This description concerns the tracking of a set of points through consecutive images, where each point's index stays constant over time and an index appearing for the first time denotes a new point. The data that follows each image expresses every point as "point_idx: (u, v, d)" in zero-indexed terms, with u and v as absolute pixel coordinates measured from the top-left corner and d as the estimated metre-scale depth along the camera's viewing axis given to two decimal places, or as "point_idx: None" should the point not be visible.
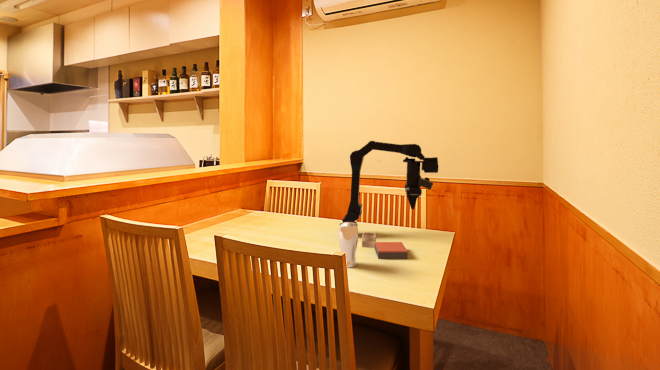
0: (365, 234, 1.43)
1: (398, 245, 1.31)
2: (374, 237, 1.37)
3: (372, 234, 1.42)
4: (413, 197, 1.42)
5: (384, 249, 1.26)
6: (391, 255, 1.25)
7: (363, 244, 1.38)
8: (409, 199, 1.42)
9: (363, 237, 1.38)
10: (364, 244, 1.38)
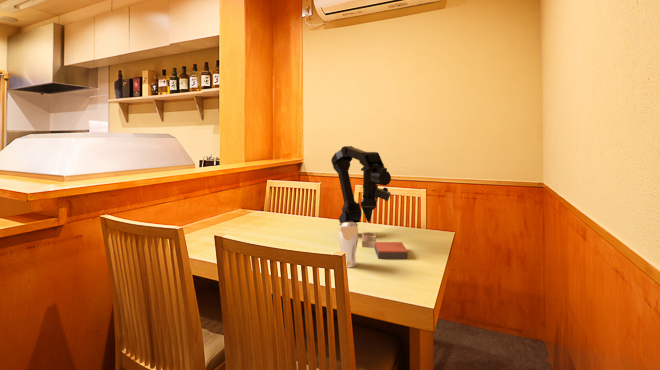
0: (365, 234, 1.43)
1: (398, 245, 1.31)
2: (374, 237, 1.37)
3: (372, 234, 1.42)
4: (368, 209, 1.33)
5: (384, 249, 1.26)
6: (391, 255, 1.25)
7: (363, 244, 1.38)
8: (364, 211, 1.33)
9: (363, 237, 1.38)
10: (364, 244, 1.38)
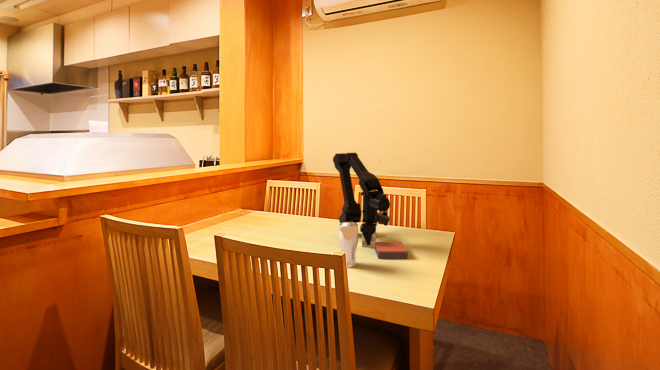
0: None
1: (398, 245, 1.31)
2: (374, 237, 1.37)
3: (372, 234, 1.42)
4: (368, 233, 1.36)
5: (384, 249, 1.26)
6: (391, 255, 1.25)
7: (363, 244, 1.38)
8: (364, 235, 1.36)
9: (363, 237, 1.38)
10: (364, 244, 1.38)
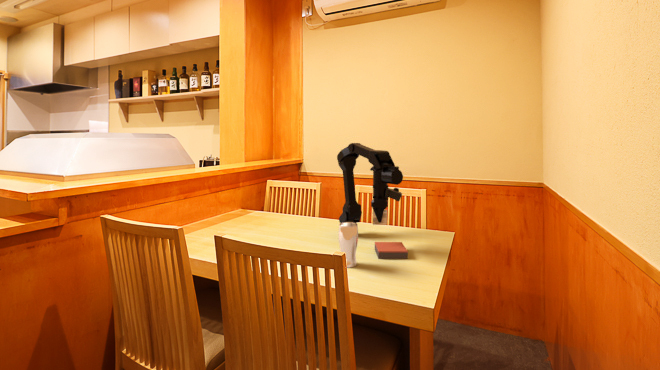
0: None
1: (398, 245, 1.31)
2: (386, 213, 1.30)
3: (383, 211, 1.35)
4: (379, 209, 1.29)
5: (384, 249, 1.26)
6: (391, 255, 1.25)
7: (374, 221, 1.31)
8: (375, 211, 1.29)
9: (374, 213, 1.31)
10: (375, 221, 1.31)
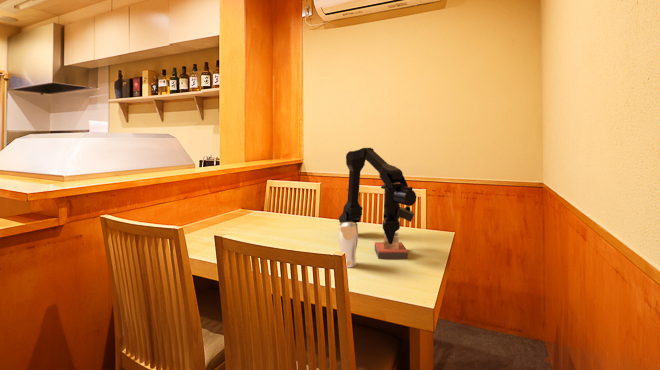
0: None
1: None
2: (397, 237, 1.26)
3: (394, 234, 1.31)
4: (391, 231, 1.23)
5: (384, 250, 1.26)
6: (391, 255, 1.25)
7: (385, 245, 1.28)
8: (386, 233, 1.23)
9: (385, 237, 1.27)
10: (386, 245, 1.27)
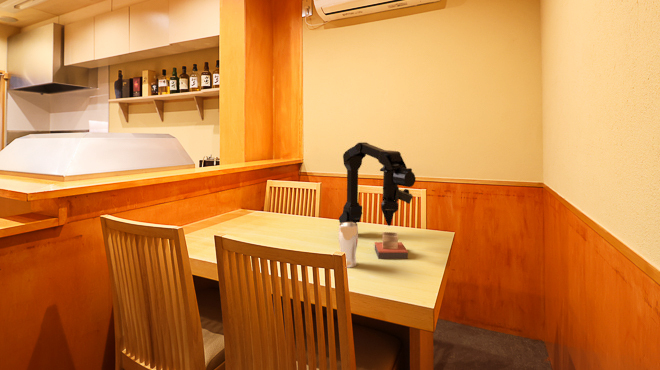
0: (385, 234, 1.32)
1: (398, 245, 1.31)
2: (396, 237, 1.26)
3: (393, 234, 1.31)
4: (389, 212, 1.25)
5: (384, 250, 1.26)
6: (391, 255, 1.25)
7: (384, 245, 1.27)
8: (385, 214, 1.25)
9: (384, 237, 1.27)
10: (385, 245, 1.27)
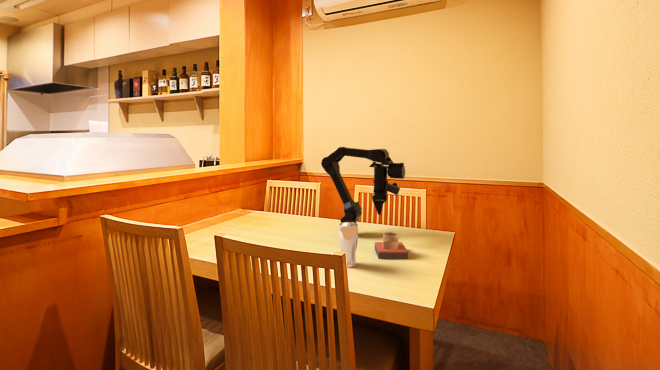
0: (385, 234, 1.32)
1: (398, 245, 1.31)
2: (397, 237, 1.26)
3: (393, 234, 1.31)
4: (379, 202, 1.41)
5: (384, 250, 1.26)
6: (391, 255, 1.25)
7: (385, 245, 1.27)
8: (375, 204, 1.41)
9: (385, 237, 1.27)
10: (386, 245, 1.27)
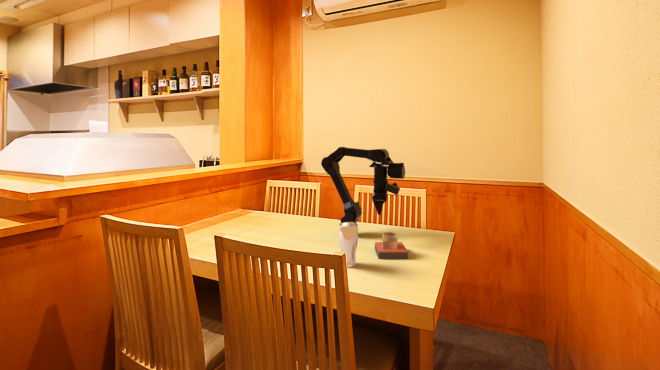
0: (385, 234, 1.32)
1: (398, 245, 1.31)
2: (396, 237, 1.27)
3: (392, 234, 1.32)
4: (379, 202, 1.41)
5: (384, 250, 1.26)
6: (391, 255, 1.25)
7: (384, 245, 1.28)
8: (375, 204, 1.41)
9: (384, 237, 1.27)
10: (385, 245, 1.27)
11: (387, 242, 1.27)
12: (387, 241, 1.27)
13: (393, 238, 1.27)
